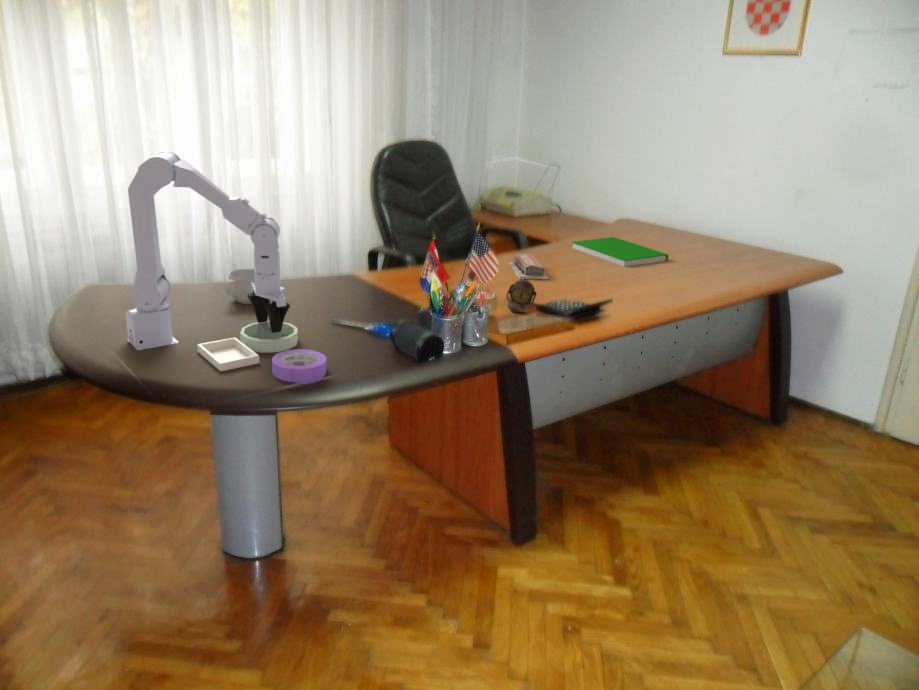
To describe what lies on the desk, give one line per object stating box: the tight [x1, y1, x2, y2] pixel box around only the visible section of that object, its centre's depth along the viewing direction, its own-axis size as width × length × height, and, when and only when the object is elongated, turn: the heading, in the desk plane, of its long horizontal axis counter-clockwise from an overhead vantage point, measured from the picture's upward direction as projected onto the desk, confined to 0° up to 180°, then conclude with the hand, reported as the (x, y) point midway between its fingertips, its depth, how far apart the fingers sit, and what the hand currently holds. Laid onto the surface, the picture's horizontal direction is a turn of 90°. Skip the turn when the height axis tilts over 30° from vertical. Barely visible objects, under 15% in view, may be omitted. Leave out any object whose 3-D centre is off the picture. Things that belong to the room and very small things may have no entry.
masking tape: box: [271, 348, 328, 386], centre depth 166 cm, size 12×12×4 cm
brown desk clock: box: [505, 279, 538, 313], centre depth 218 cm, size 7×13×10 cm
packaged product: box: [508, 253, 550, 280], centre depth 254 cm, size 18×5×10 cm
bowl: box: [239, 320, 299, 353], centre depth 181 cm, size 13×13×4 cm
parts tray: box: [196, 336, 260, 372], centre depth 171 cm, size 9×13×2 cm
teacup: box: [224, 267, 255, 305], centre depth 208 cm, size 14×11×8 cm
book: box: [571, 236, 669, 268], centre depth 284 cm, size 22×28×3 cm
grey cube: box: [257, 322, 281, 339], centre depth 180 cm, size 4×4×4 cm
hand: (269, 327), depth 180 cm, fingers open, 7 cm apart
